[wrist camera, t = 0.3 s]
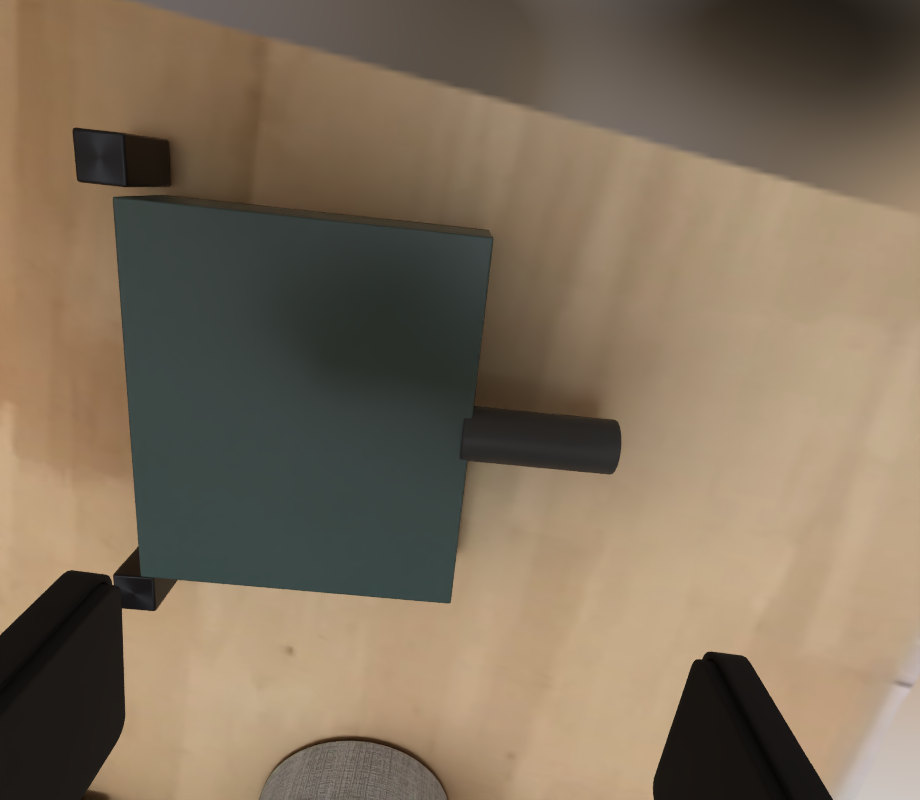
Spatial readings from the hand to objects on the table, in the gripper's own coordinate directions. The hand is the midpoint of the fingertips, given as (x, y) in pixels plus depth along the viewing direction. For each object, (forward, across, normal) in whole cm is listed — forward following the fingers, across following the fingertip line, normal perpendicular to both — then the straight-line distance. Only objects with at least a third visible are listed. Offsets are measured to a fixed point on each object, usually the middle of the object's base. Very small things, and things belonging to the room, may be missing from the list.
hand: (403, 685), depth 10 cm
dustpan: (+16, +2, +1) cm, 16 cm away
